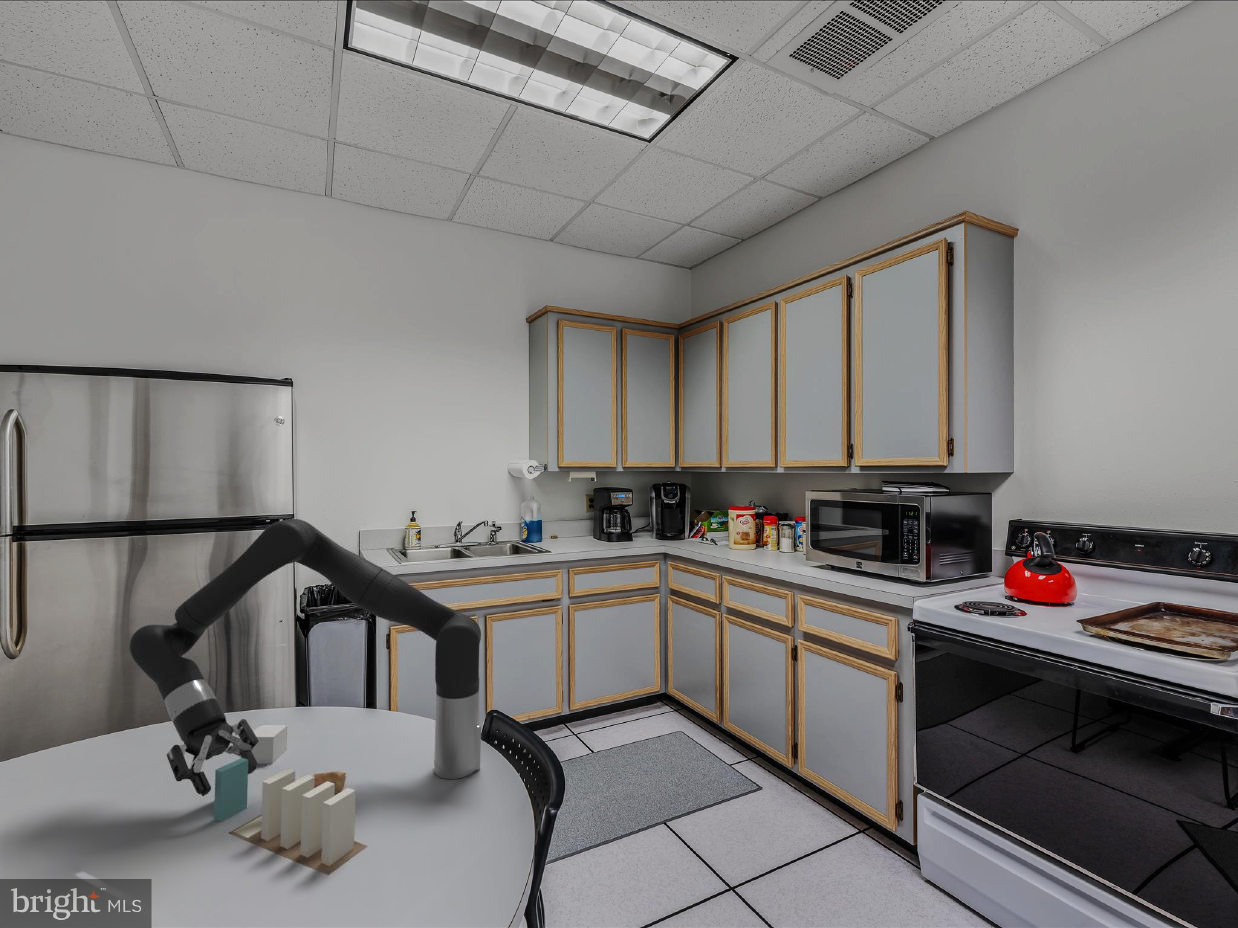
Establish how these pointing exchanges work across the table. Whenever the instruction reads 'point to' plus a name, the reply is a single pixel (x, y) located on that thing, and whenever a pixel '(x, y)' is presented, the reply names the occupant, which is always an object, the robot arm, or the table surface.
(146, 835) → the table surface
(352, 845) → the domino
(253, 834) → the board
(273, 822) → the domino
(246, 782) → the teal domino
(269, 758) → the white cube
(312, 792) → the domino
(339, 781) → the shard
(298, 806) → the domino
